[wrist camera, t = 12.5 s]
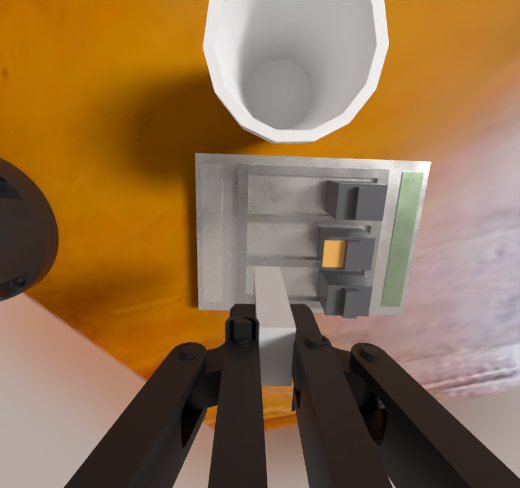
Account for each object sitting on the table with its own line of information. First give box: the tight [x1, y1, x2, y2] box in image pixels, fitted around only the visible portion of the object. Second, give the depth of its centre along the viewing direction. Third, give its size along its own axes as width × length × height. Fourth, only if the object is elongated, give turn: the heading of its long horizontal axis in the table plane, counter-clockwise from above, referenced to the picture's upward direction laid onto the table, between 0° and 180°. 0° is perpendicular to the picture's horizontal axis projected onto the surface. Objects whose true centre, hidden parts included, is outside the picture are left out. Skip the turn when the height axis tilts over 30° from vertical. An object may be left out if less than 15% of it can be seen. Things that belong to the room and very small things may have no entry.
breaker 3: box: [317, 269, 373, 318], centre depth 29 cm, size 4×3×5 cm
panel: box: [195, 153, 431, 315], centre depth 31 cm, size 22×16×2 cm
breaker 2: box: [317, 226, 376, 271], centre depth 28 cm, size 4×3×5 cm
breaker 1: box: [325, 180, 388, 221], centre depth 27 cm, size 4×3×5 cm
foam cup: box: [203, 0, 389, 144], centre depth 22 cm, size 10×9×13 cm
